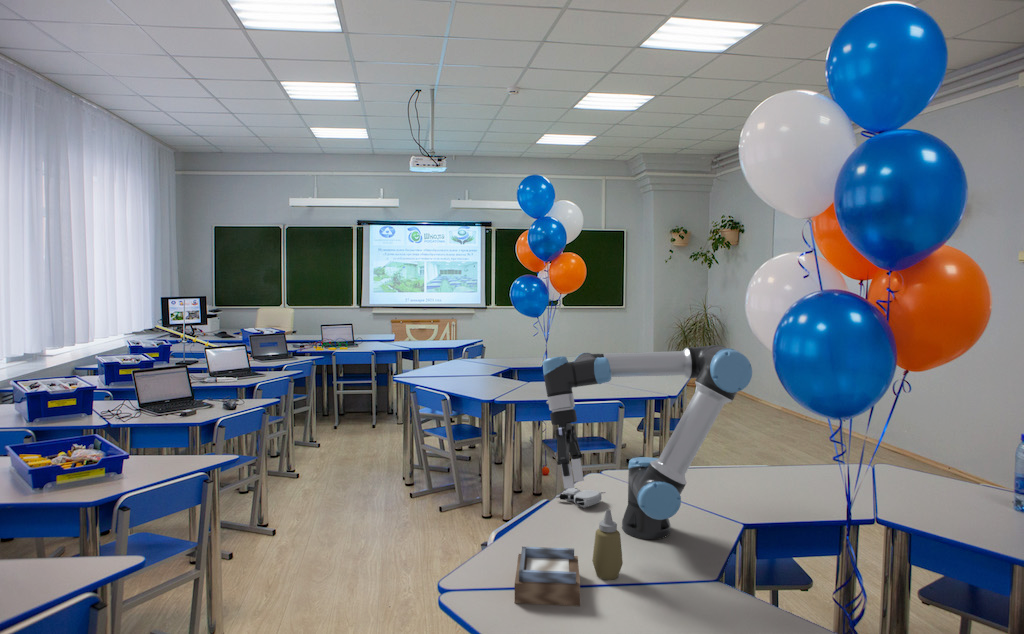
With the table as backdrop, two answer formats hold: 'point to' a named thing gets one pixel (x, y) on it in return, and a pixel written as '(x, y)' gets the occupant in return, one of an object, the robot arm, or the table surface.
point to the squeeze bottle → (607, 549)
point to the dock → (547, 577)
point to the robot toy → (581, 496)
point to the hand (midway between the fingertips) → (574, 484)
